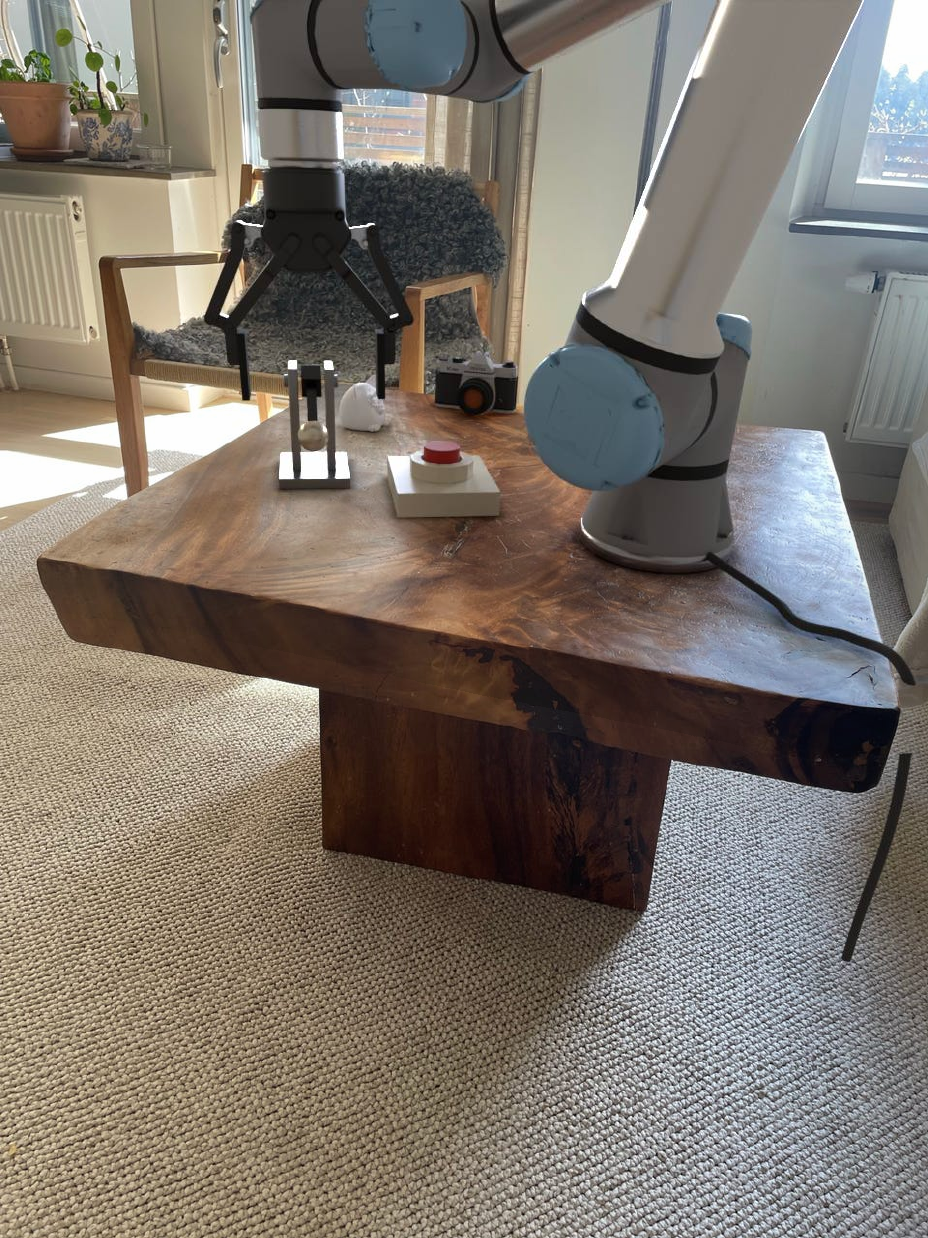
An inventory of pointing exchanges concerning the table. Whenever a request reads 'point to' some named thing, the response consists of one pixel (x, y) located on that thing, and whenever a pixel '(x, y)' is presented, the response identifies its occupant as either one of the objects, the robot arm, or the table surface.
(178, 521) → the table surface
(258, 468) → the table surface
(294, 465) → the grey metal frame
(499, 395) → the camera
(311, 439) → the lever
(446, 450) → the stop button
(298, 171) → the robot arm
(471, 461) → the control block
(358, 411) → the figurine
